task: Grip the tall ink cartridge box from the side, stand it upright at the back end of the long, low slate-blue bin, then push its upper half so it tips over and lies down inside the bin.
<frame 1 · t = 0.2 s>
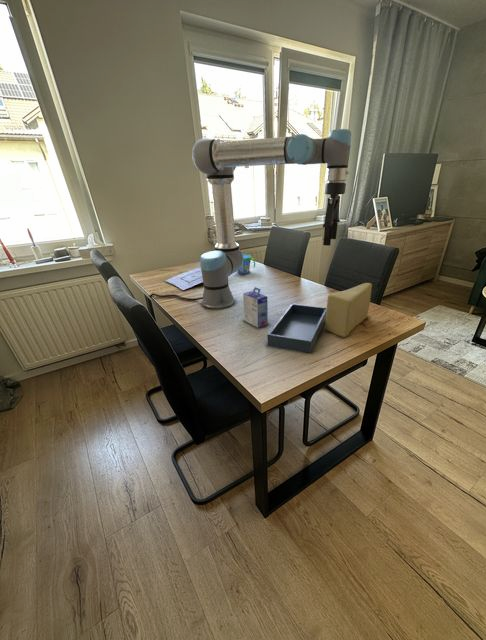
hand: (329, 242, 115), 28 cm above the table, tool pointing down, fingers open, 13 cm apart
cheese: (350, 325, 112), on the table
bin: (299, 330, 109), on the table
ink cartridge box: (256, 323, 116), on the table
papers: (196, 280, 168), on the table
snack cup: (243, 272, 178), on the table
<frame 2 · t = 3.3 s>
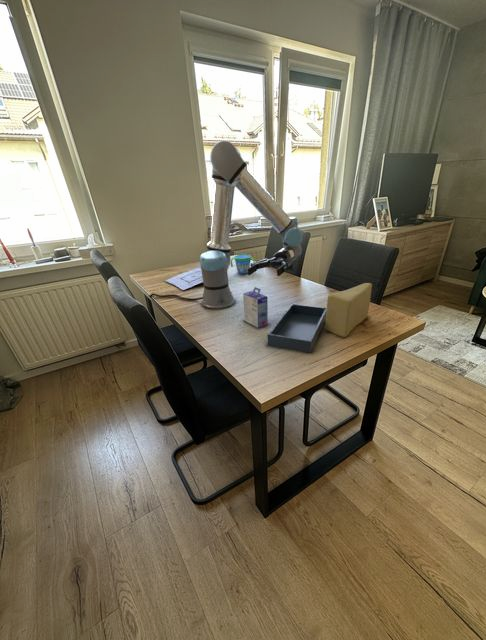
hand: (262, 272, 114), 18 cm above the table, tool horizontal, fingers open, 13 cm apart
nothing on the table moved.
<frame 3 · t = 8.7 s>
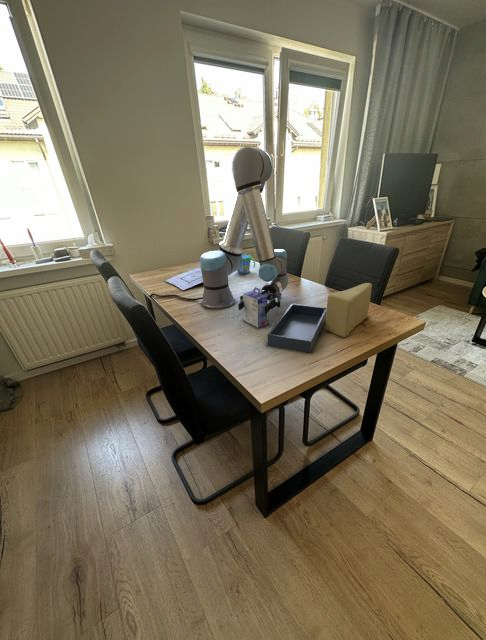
hand: (252, 308, 110), 7 cm above the table, tool horizontal, fingers closed on ink cartridge box, 11 cm apart
ink cartridge box: (256, 323, 116), on the table, touching gripper
everything else where it was.
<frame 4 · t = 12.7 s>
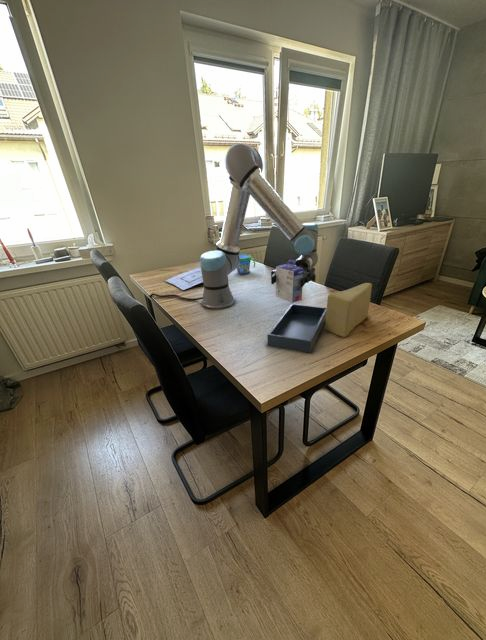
hand: (286, 282, 103), 18 cm above the table, tool horizontal, fingers closed on ink cartridge box, 11 cm apart
ink cartridge box: (288, 298, 109), point 11 cm above the table, touching gripper
everything else where it was.
when the fingers open (8 cm above the table, at t = 16.9 s): ink cartridge box stays where it is, resting on bin.
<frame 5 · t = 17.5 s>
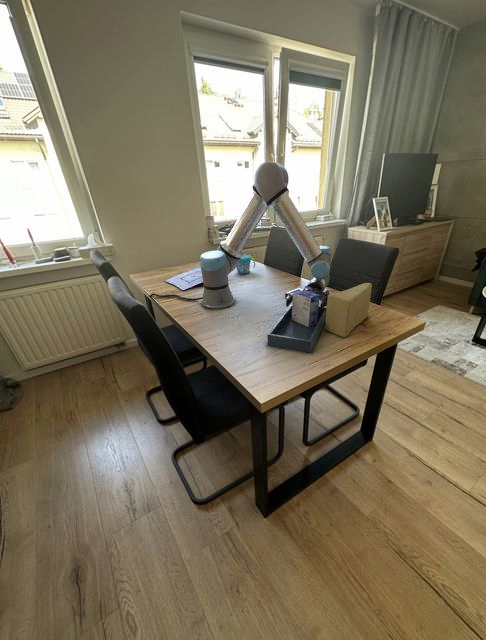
hand: (303, 305, 108), 9 cm above the table, tool horizontal, fingers open, 13 cm apart
ink cartridge box: (304, 322, 114), resting on bin
everything else where it was.
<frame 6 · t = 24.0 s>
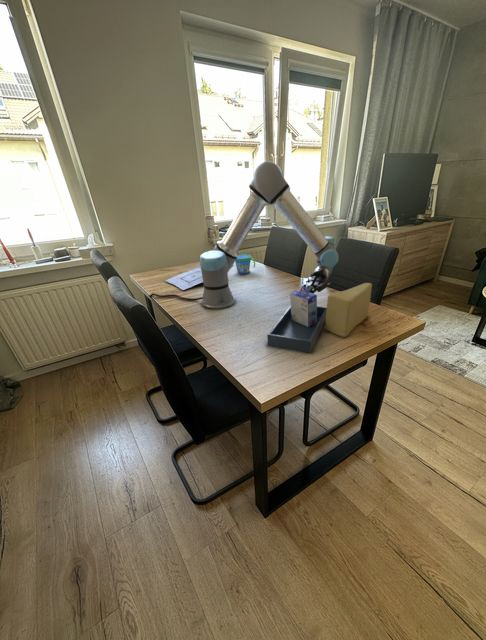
hand: (307, 294, 110), 11 cm above the table, tool horizontal, fingers closed
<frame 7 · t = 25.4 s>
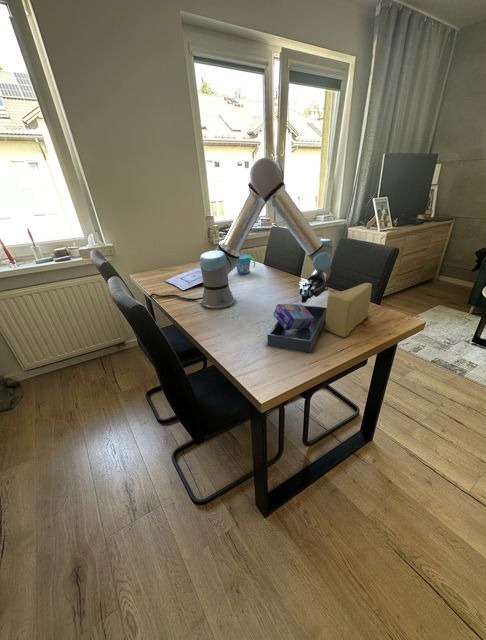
hand: (303, 299, 106), 11 cm above the table, tool horizontal, fingers closed
ink cartridge box: (306, 315, 110), point 4 cm above the table, touching bin
everything else where it was.
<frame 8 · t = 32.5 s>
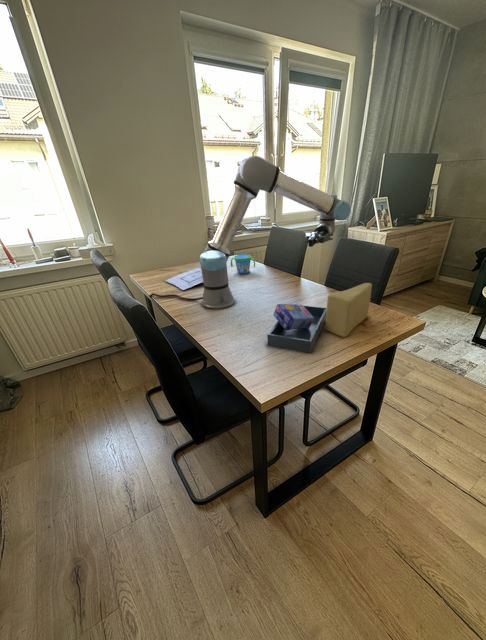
hand: (310, 243, 113), 28 cm above the table, tool horizontal, fingers closed
nothing on the table moved.
at the end: ink cartridge box inside the target area in the bin (5.1 cm from its centre), point 4.3 cm above the bin's base; ink cartridge box tilted 78° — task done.
